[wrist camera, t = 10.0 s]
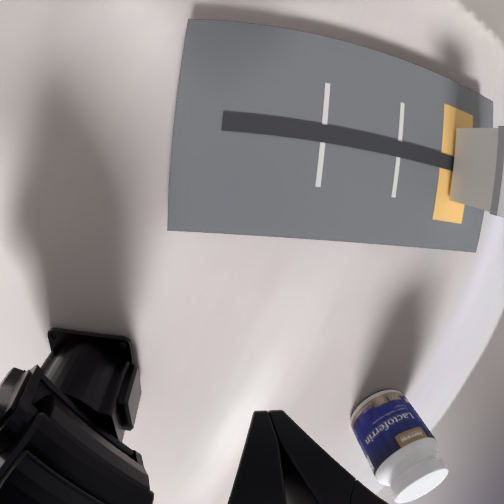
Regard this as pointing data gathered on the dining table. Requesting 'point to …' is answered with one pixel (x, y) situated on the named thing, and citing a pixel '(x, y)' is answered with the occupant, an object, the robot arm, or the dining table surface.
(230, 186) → the mixing board
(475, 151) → the fader
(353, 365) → the dining table surface
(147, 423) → the dining table surface
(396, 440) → the pill bottle
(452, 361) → the dining table surface
